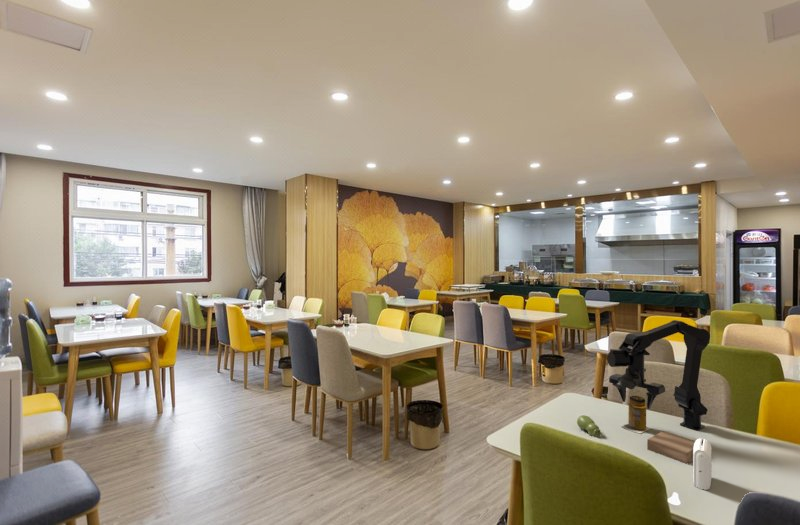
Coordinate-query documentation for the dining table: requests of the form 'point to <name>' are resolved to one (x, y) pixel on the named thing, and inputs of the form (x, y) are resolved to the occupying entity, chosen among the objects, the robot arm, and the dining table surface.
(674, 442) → the brown flat box
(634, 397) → the condiment
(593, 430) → the pear
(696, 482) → the photo printer
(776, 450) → the dining table surface
